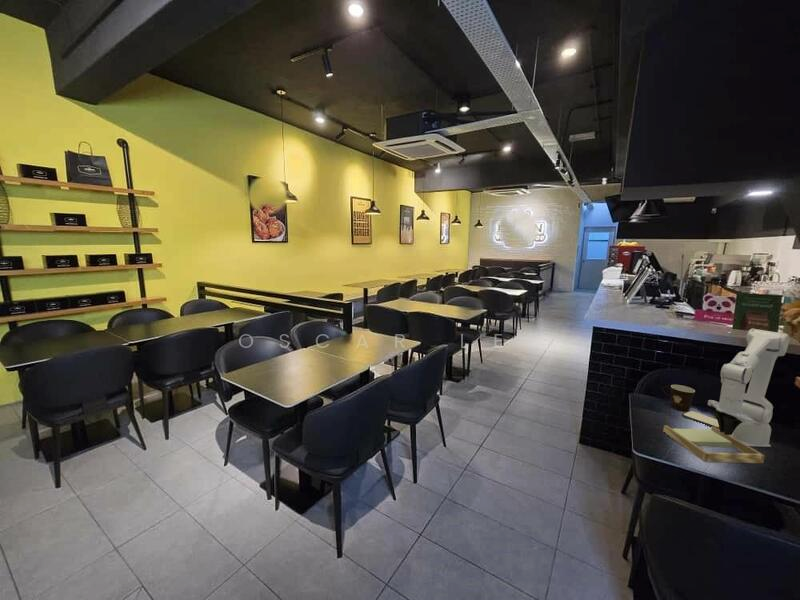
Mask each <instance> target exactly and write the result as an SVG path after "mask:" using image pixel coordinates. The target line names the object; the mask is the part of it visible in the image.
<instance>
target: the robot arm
mask: <svg viewBox="0 0 800 600" xmlns="http://www.w3.org/2000/svg"><path fill="white" fill-rule="evenodd" d="M745 339H746V342H747V343H746V344H747V346H746V348H745V350H744V351H739V352H738V353H737V354H736V355H735V356H734V358H733V359H732V360H731V361H730V362H729V363H724V364H723V365H722V367H721V370H720V383H721V389H720V396H719V401H716V400H712V399H709V400H707V406H710V407H713V408H715V410H714V411H713V414H714V416H715V419H717V421H718V424H719V429H720V432H724V434H725V435H730V436H732V437H734V438H735V439H737V440H739V441H741V442H742V443H744V444H746V445H748V446H749V447H758V448H759V447H764V448H768V447H769V448H771V446H772V445H771V444H770V438H771V433H772V428H771V425H770V424H769V423H770V422H771V420H772V418H773V409H774V406H773V404H772V403H771V402H770V401H769V400H768V399H767V398H766V397H765V396H766V393H767V389H768V386H769V383H770V380H771V376H772V373H773V369H774V366H775V363H776V361H777V359H778V357H784V356H785V355H786V353H787V350H788V347H789V344H790V336H789V334H788V333H786V332H785V333H784V332H777V331H770V330H764V329H756V328H750V329H749V330H748V331H747V334H746V337H745ZM748 383H749V384H748ZM747 384H748V387H747ZM746 387H747V390H746Z"/></svg>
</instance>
